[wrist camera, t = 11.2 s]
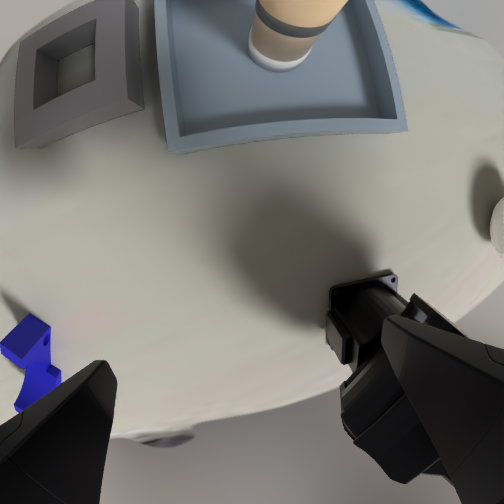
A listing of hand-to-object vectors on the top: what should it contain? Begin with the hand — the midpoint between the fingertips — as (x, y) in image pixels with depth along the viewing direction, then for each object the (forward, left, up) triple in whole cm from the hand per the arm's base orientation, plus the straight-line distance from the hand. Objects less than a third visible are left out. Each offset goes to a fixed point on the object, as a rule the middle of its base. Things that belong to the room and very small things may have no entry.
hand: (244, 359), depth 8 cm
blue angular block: (+24, +10, -13) cm, 29 cm away
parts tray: (-5, -14, -13) cm, 20 cm away
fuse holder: (+10, -16, -13) cm, 23 cm away
